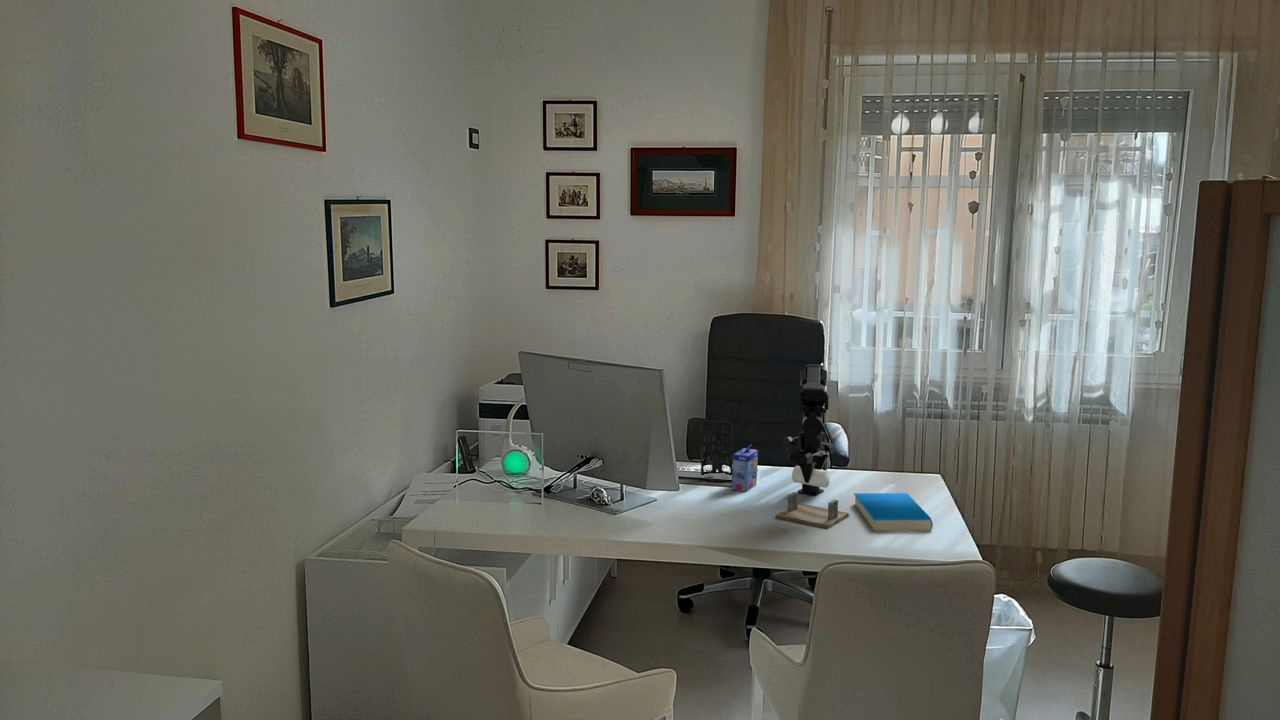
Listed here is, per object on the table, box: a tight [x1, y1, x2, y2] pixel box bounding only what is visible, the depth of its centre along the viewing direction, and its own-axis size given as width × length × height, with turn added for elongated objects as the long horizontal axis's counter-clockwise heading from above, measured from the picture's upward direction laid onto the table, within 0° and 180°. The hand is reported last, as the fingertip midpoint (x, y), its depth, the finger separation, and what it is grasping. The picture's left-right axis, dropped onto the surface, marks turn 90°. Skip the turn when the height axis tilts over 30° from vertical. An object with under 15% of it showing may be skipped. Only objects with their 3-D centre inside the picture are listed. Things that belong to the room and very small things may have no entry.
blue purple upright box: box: [731, 444, 759, 493], centre depth 311 cm, size 10×6×14 cm, turn 152°
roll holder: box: [775, 491, 850, 530], centre depth 281 cm, size 14×17×6 cm
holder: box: [699, 420, 733, 483], centre depth 321 cm, size 11×8×20 cm
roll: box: [791, 465, 831, 489], centre depth 280 cm, size 5×10×5 cm, turn 52°
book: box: [853, 492, 933, 531], centre depth 282 cm, size 17×4×25 cm
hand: (811, 480), depth 280 cm, fingers closed on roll, 5 cm apart
